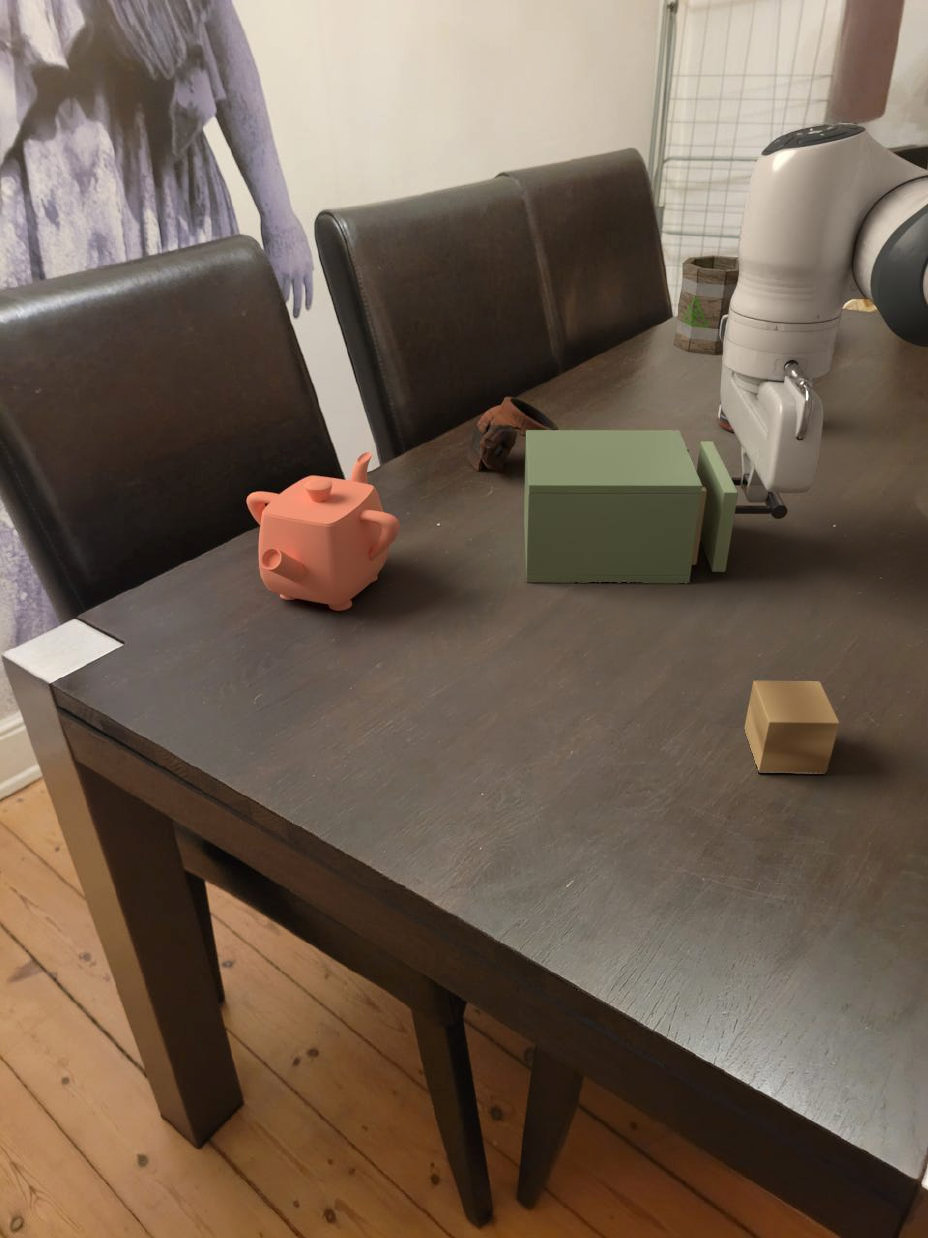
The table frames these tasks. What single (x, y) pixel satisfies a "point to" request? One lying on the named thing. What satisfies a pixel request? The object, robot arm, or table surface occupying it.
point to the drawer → (722, 507)
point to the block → (790, 726)
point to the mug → (705, 302)
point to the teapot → (323, 537)
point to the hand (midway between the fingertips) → (752, 495)
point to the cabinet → (609, 506)
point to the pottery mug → (503, 432)
